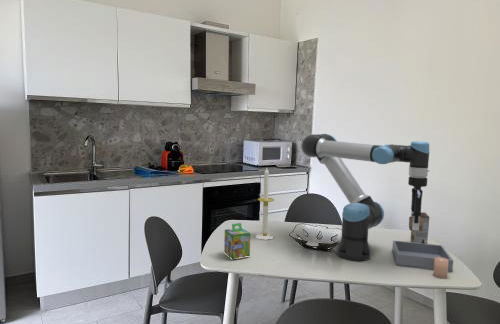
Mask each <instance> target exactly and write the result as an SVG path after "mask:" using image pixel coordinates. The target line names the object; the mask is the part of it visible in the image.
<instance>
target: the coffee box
mask: <svg viewBox="0 0 500 324" xmlns="http://www.w3.org/2000/svg"><path fill="white" fill-rule="evenodd" d="M420 217H421V218H422V219H423V228H422V231H411V230H410V241H409V242H413V243H423V244H428V240H429V239H428V236H429V228H430V227H429V226H430V215H428V214H427V213H426V212H422V211H421V216H420Z"/></svg>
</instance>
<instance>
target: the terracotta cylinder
mask: <svg viewBox="0 0 500 324" xmlns="http://www.w3.org/2000/svg"><path fill="white" fill-rule="evenodd" d="M448 261H449V260H448V259H446V258H443V257H435V260H434V270H433V273H432V274H433V276H434V277H436V278H439V279H447V278H448Z"/></svg>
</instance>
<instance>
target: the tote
mask: <svg viewBox="0 0 500 324" xmlns="http://www.w3.org/2000/svg"><path fill="white" fill-rule="evenodd" d="M391 250H392V251H391V252H392V254H393V257H394V261H395V264H396V266H399V267H406V268H407V267H408V268H416V269H422V270H431V271H434V260H435V257H443V258H446V259H448V260H449V261H448V272H449V273H453V267H454V259H453V258H452V257H451V255H450V254H449V253H448V251H447V250H446V248H445V247H444V246H443V245H440V244H432V243H427V244H423V243H413V242H411V241H401V240H392V249H391ZM448 272H447V273H448Z"/></svg>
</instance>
